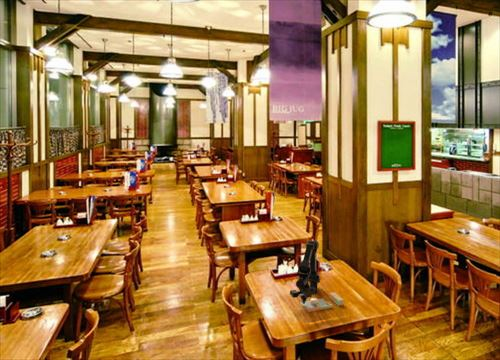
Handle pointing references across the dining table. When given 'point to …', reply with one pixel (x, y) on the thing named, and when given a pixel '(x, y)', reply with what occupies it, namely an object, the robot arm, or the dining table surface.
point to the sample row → (336, 298)
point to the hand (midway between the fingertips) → (303, 303)
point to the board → (316, 305)
